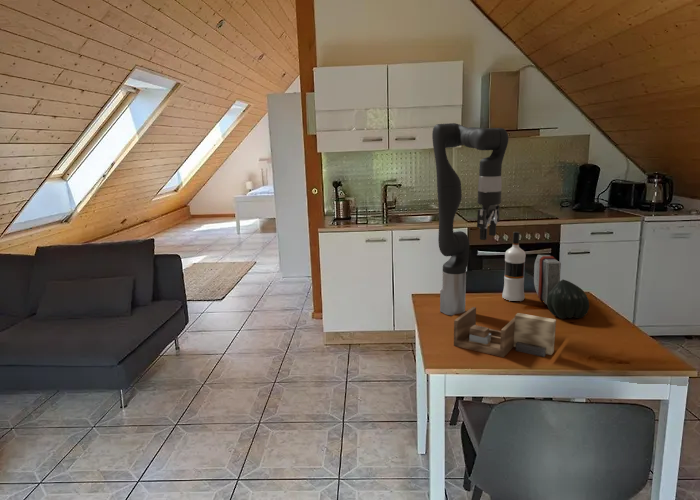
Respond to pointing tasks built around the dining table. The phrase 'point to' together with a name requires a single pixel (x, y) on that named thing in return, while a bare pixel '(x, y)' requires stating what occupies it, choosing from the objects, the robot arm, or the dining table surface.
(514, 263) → the vodka
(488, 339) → the offcut
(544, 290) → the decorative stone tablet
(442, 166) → the robot arm
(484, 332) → the offcut
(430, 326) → the dining table surface
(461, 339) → the rack
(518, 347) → the stand
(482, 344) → the offcut
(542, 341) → the beige rectangular slab
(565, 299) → the squash
